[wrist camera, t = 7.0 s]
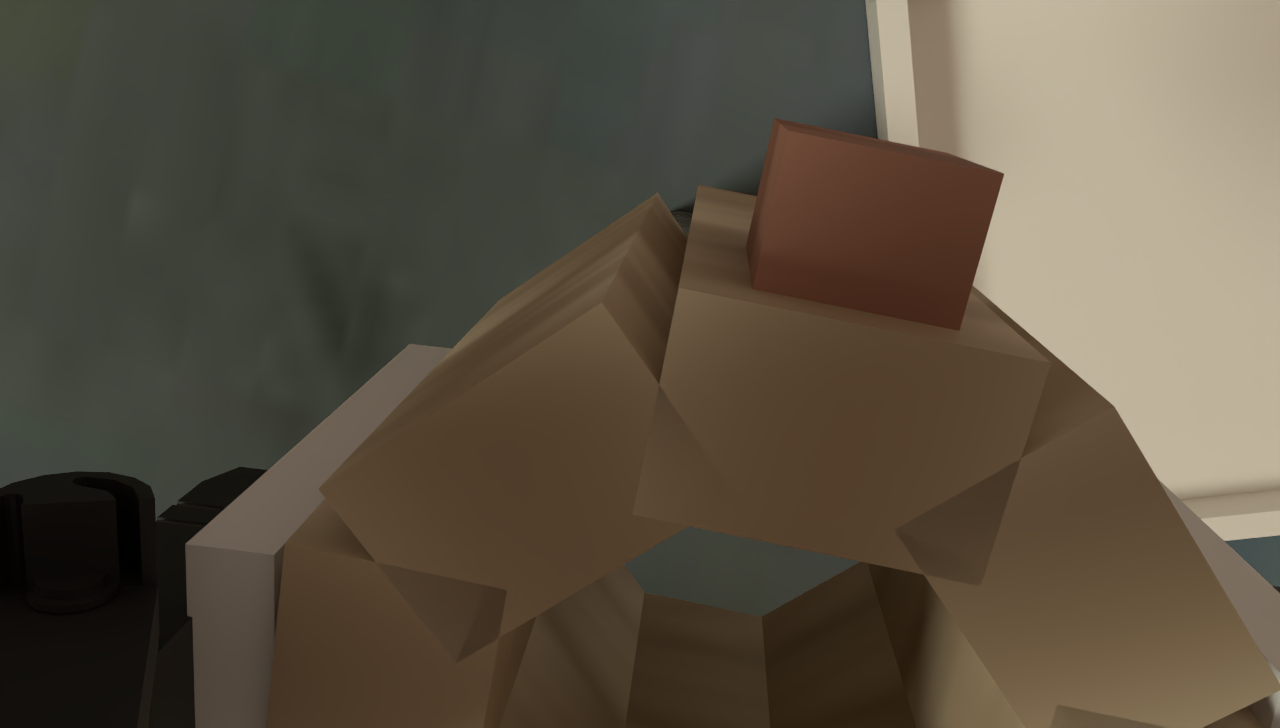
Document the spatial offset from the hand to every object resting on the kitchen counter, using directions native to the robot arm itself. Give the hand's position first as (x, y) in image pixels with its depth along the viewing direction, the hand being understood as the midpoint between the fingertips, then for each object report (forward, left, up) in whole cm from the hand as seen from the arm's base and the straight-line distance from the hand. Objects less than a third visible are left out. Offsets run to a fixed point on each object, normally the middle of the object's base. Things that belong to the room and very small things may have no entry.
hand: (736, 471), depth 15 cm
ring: (0, 0, 0) cm, 0 cm away
